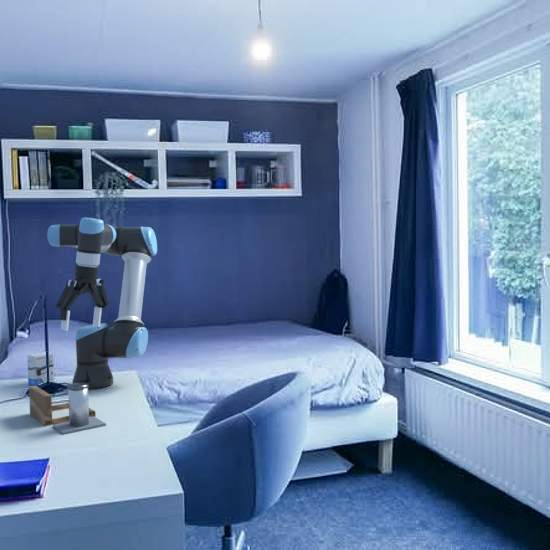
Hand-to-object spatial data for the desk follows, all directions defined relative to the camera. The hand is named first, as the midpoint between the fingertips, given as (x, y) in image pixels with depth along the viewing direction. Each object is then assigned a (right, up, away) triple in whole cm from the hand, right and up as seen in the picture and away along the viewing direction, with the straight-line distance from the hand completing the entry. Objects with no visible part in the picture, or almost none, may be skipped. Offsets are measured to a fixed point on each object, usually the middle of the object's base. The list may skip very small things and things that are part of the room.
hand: (80, 328), depth 204 cm
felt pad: (+6, -28, -19) cm, 34 cm away
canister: (+6, -27, -19) cm, 34 cm away
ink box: (-27, -25, +35) cm, 51 cm away
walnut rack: (-4, -27, -7) cm, 29 cm away
